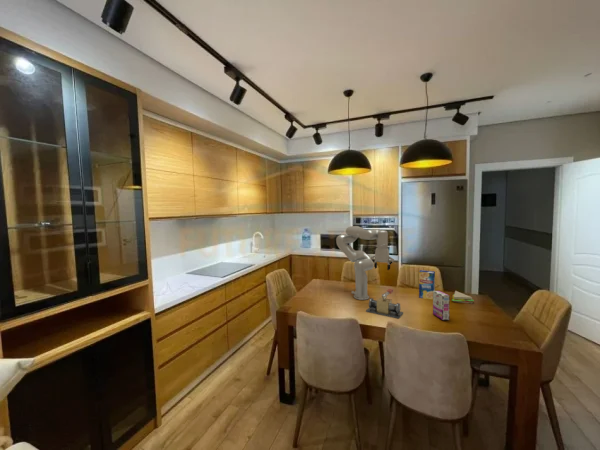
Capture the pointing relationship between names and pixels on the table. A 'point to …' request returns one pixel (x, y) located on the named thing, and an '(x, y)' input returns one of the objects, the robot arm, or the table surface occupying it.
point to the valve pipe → (384, 308)
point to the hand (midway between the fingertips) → (382, 269)
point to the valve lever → (387, 293)
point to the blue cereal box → (426, 284)
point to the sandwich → (461, 298)
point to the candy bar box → (441, 305)
